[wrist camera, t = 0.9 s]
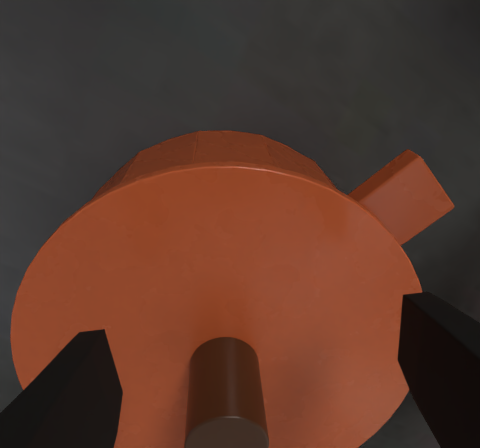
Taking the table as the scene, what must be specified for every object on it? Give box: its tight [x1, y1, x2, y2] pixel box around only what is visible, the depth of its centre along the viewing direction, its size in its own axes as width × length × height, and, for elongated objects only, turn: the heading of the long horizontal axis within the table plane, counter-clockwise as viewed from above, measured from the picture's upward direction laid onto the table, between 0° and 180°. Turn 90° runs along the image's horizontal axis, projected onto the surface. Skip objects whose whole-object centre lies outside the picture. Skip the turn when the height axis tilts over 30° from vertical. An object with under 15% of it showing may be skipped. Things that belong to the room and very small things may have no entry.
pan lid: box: [10, 162, 422, 448], centre depth 14 cm, size 14×14×4 cm
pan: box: [92, 131, 454, 246], centre depth 18 cm, size 13×19×6 cm
